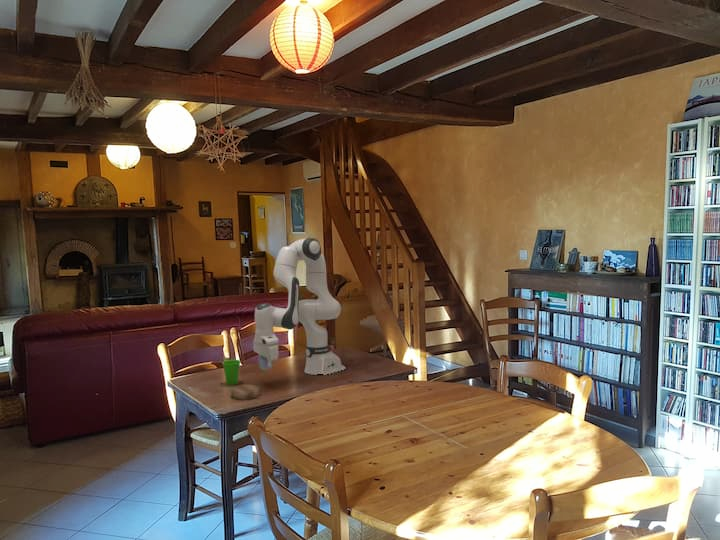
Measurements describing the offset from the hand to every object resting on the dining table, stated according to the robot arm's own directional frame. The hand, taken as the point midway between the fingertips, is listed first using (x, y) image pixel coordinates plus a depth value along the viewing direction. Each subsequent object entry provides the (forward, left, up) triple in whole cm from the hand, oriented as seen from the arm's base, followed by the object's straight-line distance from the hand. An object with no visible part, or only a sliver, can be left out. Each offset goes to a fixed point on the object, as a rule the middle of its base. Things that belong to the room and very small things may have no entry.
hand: (265, 364), depth 248 cm
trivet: (+14, +7, -11) cm, 19 cm away
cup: (+12, -14, -11) cm, 21 cm away
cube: (0, 0, -2) cm, 2 cm away
